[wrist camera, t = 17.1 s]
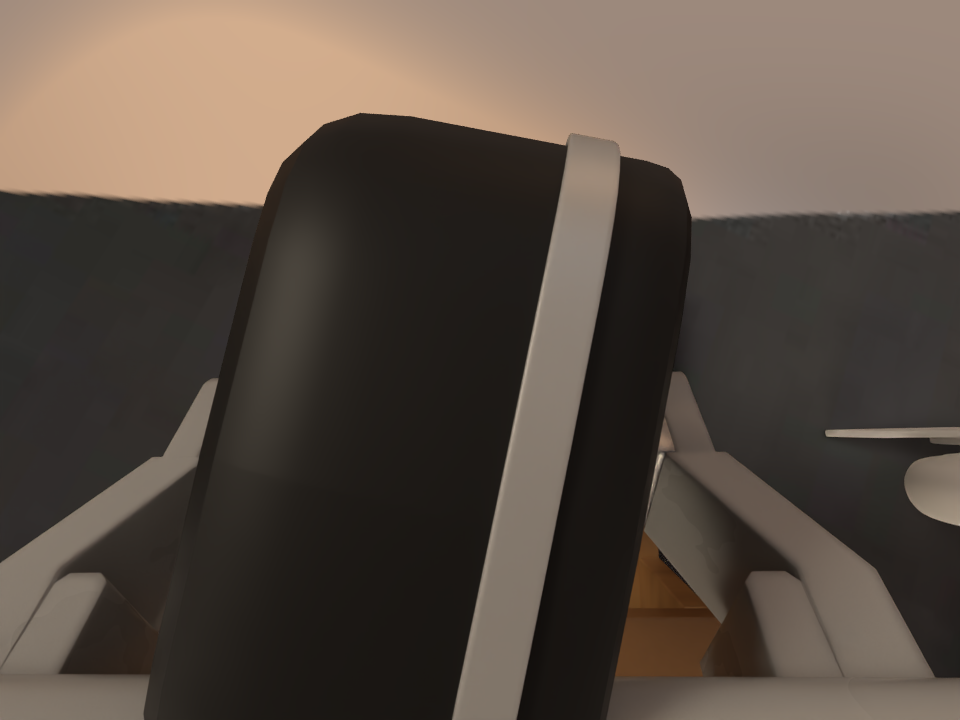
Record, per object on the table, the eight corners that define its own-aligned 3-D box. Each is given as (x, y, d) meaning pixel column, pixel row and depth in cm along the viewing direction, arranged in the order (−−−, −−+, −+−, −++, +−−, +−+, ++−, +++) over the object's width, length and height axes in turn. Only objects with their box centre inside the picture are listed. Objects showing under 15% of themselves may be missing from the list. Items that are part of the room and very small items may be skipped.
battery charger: (425, 284, 15) (222, -35, 4) (562, 312, 15) (751, 59, 4) (370, 538, 15) (-31, 973, 4) (510, 569, 15) (548, 1130, 3)
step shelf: (654, 724, 23) (732, 886, 15) (308, 723, 23) (217, 879, 16) (640, 280, 24) (706, 226, 16) (311, 286, 24) (229, 236, 17)
